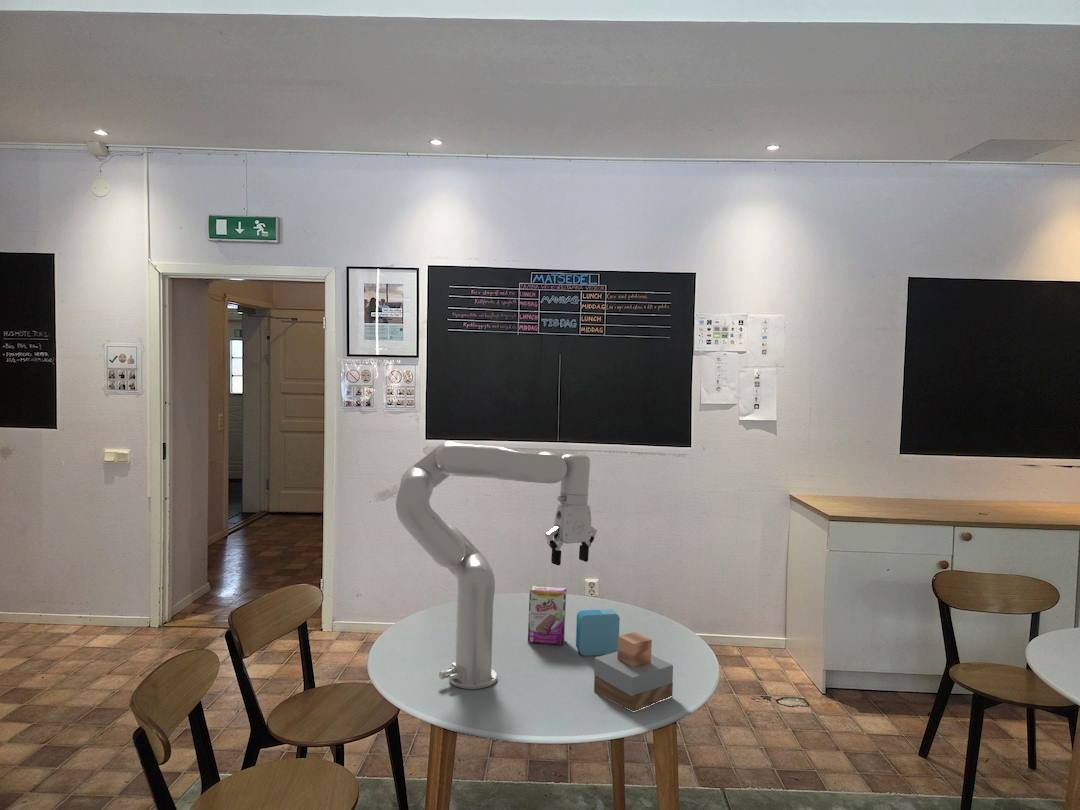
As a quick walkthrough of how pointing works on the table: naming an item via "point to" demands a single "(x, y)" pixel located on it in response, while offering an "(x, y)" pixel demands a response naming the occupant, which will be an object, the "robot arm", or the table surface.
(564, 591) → the candy bar box
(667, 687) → the tower bottom
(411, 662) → the table surface
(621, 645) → the stack block
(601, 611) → the blue rounded block
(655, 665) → the tower top
